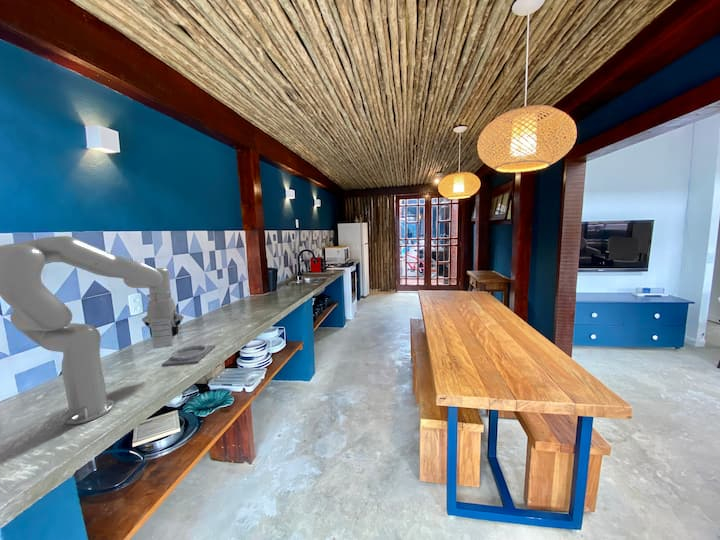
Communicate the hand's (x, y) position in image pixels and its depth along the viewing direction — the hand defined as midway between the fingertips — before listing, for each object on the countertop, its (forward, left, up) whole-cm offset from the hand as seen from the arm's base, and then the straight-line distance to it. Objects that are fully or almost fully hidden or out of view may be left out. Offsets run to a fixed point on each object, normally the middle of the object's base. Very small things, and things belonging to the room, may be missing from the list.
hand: (164, 335), depth 125 cm
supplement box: (0, 0, -4) cm, 4 cm away
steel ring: (+17, -1, -17) cm, 24 cm away
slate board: (+17, -1, -17) cm, 24 cm away
